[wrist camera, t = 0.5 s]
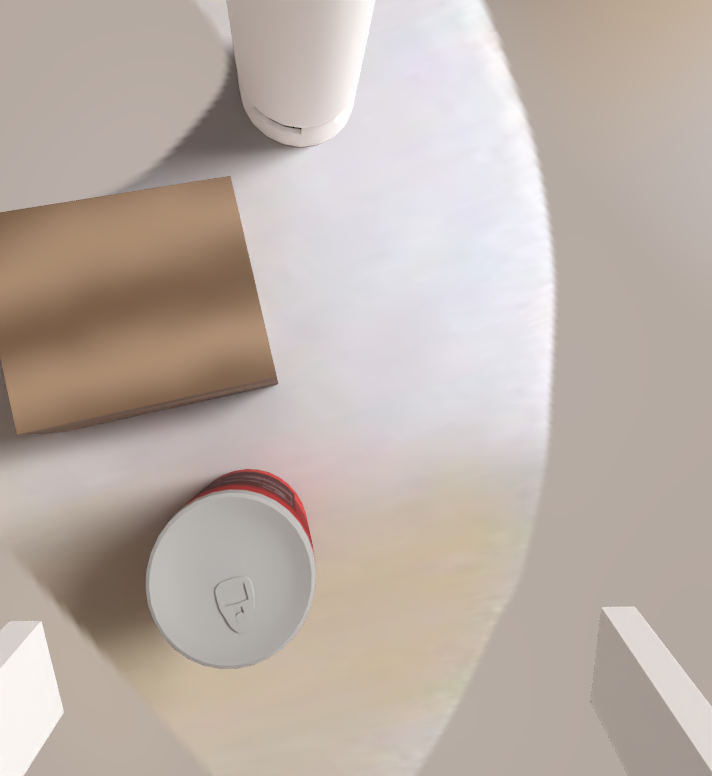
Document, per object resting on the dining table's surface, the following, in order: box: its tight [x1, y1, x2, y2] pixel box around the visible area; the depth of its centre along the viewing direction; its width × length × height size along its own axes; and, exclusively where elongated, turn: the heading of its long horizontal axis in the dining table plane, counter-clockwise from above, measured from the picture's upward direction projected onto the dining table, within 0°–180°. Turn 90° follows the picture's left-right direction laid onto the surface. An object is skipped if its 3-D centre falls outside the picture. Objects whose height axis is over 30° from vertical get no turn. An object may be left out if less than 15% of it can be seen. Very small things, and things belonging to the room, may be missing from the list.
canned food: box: [146, 469, 316, 669], centre depth 28 cm, size 8×8×11 cm
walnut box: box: [0, 176, 278, 435], centre depth 31 cm, size 12×14×6 cm
